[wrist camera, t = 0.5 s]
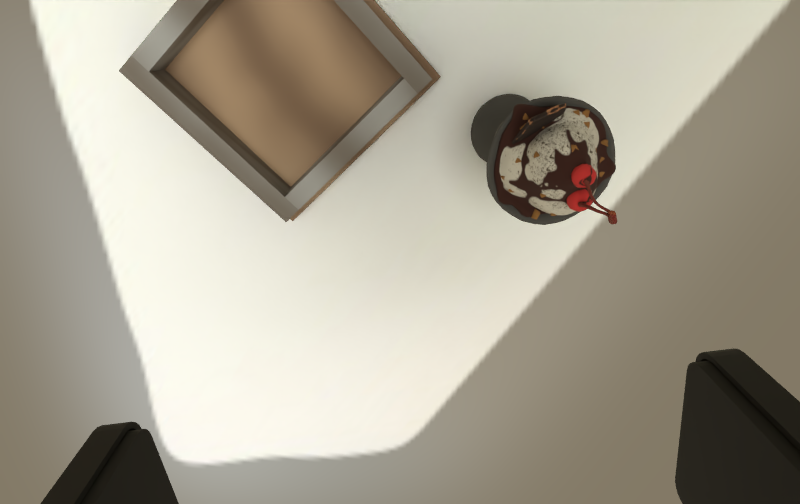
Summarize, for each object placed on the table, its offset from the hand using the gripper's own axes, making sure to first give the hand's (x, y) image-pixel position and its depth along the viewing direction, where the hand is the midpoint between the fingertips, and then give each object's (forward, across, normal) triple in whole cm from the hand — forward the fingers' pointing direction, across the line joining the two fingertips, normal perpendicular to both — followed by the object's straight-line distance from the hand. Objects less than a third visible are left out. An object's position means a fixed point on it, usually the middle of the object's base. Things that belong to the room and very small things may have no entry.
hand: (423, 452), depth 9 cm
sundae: (+29, -8, 0) cm, 30 cm away
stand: (+29, +6, -5) cm, 30 cm away
